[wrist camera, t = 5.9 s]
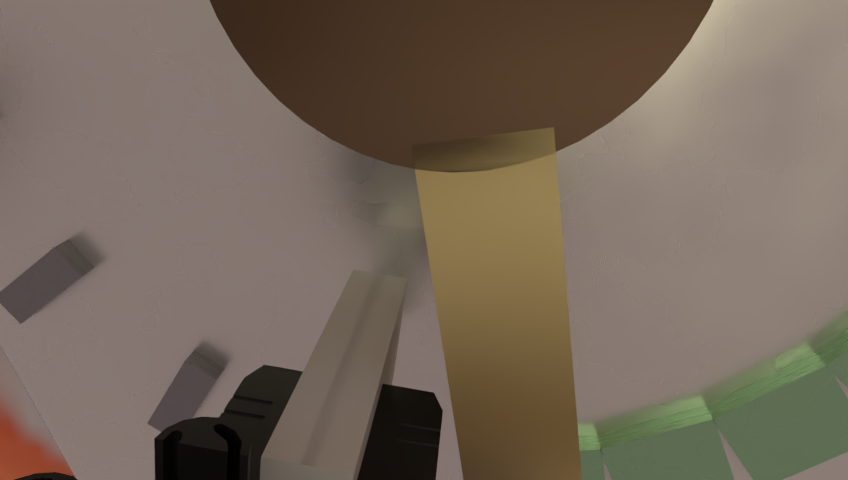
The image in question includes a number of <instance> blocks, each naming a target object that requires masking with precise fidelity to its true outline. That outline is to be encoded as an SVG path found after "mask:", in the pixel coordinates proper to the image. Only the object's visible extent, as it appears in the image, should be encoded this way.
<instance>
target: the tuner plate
mask: <svg viewBox="0 0 848 480" xmlns="http://www.w3.org/2000/svg"><path fill="white" fill-rule="evenodd" d="M556 160H557V173H558V185H559V198H560V210H561V223H562V235H563V248H564V260H565V273H566V286H567V298H568V311H569V323H570V336H571V348H572V361H573V374H574V386H575V399H576V411H577V424H578V436H579V449H580V461H581V474H582V480H848V0H714V1H713V3H712V5H711V7H710V9H709V11H708V12H707V14H706V16H705V17H704V19H703V20H702V22H701V24H700V25H699V27H698V29H697V30H696V32H695V34H694V35H693V37H692V38H691V40H690V42H689V43H688V44H687V46H686V47H685V48H684V50H683V51H682V52H681V53H680V55H679V56H678V57H677V59H676V60H675V61H674V62H673V64H672V65H671V66H670V67H669V69H668V70H667V71H666V73H665V74H664V75H663V76H662V77H661V78H660V79H659V80H658V81H657V82H656V83H655V84H654V85H653V86H652V87H651V88H650V89H649V90H648V91H647V92H646V93H645V94H644V95H643V96H642V97H641V98H640V99H639V100H638V101H637V102H635V103H634V104H633V105H631V106H630V107H629V108H628V109H626V110H625V111H624V112H623V113H621V114H620V115H619V116H618V117H616V118H615V119H614V120H613V121H611V122H610V123H608V124H607V125H605V126H604V127H602V128H600V129H599V130H597V131H595V132H594V133H592V134H591V135H589V136H587V137H586V138H584V139H582V140H581V141H579V142H577V143H574V144H572V145H570V146H568V147H566V148H564V149H561V150H559V151H557V152H556ZM353 269H356V270H362V271H368V272H374V273H380V274H385V275H391V276H397V277H403V278H408V281H407V288H406V295H405V302H404V309H403V316H402V323H401V329H400V336H399V343H398V350H397V357H396V364H395V370H394V377H393V381H392V385H394V386H399V387H405V388H411V389H417V390H422V391H428V392H434V394H435V396H436V398H437V400H438V402H439V404H440V406H441V408H442V410H443V414H442V424H441V432H440V433H441V434H440V443H439V453H438V463H437V472H436V480H463V473H462V467H461V461H460V454H459V448H458V442H457V435H456V429H455V423H454V416H453V410H452V403H451V397H450V391H449V384H448V378H447V372H446V365H445V359H444V352H443V346H442V340H441V333H440V327H439V321H438V314H437V308H436V302H435V295H434V289H433V282H432V276H431V270H430V263H429V257H428V251H427V244H426V238H425V232H424V225H423V219H422V212H421V206H420V200H419V193H418V187H417V181H416V174H415V169H413V168H408V167H403V166H398V165H393V164H389V163H386V162H383V161H380V160H377V159H374V158H372V157H369V156H366V155H363V154H360V153H358V152H356V151H354V150H352V149H350V148H348V147H346V146H344V145H341V144H339V143H337V142H335V141H333V140H331V139H330V138H328V137H327V136H325V135H324V134H322V133H320V132H319V131H317V130H316V129H314V128H313V127H311V126H310V125H308V124H307V123H305V122H304V121H302V120H301V119H300V118H299V117H298V116H297V115H295V114H294V113H293V112H292V111H291V110H289V109H288V108H287V107H286V106H285V105H283V104H282V103H281V102H280V101H279V100H278V99H277V98H276V97H275V96H274V95H273V94H272V93H271V92H270V91H269V90H268V89H267V88H266V87H265V85H264V84H263V83H262V82H261V81H260V80H259V79H258V78H257V77H256V76H255V75H254V73H253V72H252V71H251V69H250V68H249V66H248V65H247V64H246V62H245V61H244V60H243V58H242V57H241V56H240V54H239V53H238V52H237V50H236V49H235V48H234V46H233V44H232V42H231V41H230V39H229V37H228V35H227V34H226V32H225V30H224V28H223V27H222V25H221V23H220V22H219V20H218V18H217V16H216V14H215V12H214V9H213V7H212V5H211V3H210V0H0V346H1V347H2V349H3V351H4V353H5V354H6V356H7V358H8V360H9V362H10V363H11V365H12V367H13V369H14V370H15V372H16V374H17V376H18V377H19V379H20V381H21V383H22V384H23V386H24V388H25V390H26V391H27V393H28V395H29V397H30V398H31V400H32V402H33V404H34V405H35V407H36V409H37V411H38V412H39V414H40V416H41V418H42V419H43V421H44V423H45V425H46V426H47V428H48V430H49V432H50V433H51V435H52V437H53V439H54V440H55V442H56V444H57V446H58V448H59V449H60V451H61V453H62V455H63V456H64V458H65V460H66V462H67V463H68V465H69V467H70V469H71V470H72V472H73V474H74V476H75V477H76V479H77V480H155V448H154V438H155V437H157V436H158V435H159V434H160V433H161V432H162V431H163V430H164V429H166V428H167V427H169V426H171V425H173V424H176V423H178V422H180V421H182V420H186V419H192V418H197V417H219V416H220V415H221V413H223V412H224V409H225V407H226V405H227V404H228V402H229V401H230V399H231V398H233V395H234V393H235V391H236V390H237V388H238V387H239V385H240V384H241V382H242V380H243V379H244V377H246V376H248V375H249V374H251V373H252V372H254V371H255V370H257V369H258V368H260V367H261V366H263V365H269V366H275V367H281V368H287V369H292V370H298V371H304V369H305V367H306V365H307V363H308V361H309V358H310V356H311V354H312V352H313V350H314V348H315V346H316V344H317V342H318V340H319V338H320V336H321V334H322V332H323V330H324V328H325V326H326V324H327V322H328V320H329V318H330V316H331V314H332V312H333V310H334V308H335V306H336V304H337V302H338V300H339V298H340V296H341V293H342V291H343V289H344V287H345V285H346V283H347V281H348V279H349V277H350V275H351V273H352V271H353Z"/></svg>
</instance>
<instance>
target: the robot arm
mask: <svg viewBox="0 0 848 480" xmlns="http://www.w3.org/2000/svg"><path fill="white" fill-rule="evenodd" d="M407 281H408V278H403V277H397V276H391V275H385V274H380V273H374V272H368V271H362V270H356V269H353V271H352V273H351V275H350V277H349V279H348V281H347V283H346V285H345V287H344V289H343V291H342V293H341V296H340V298H339V300H338V302H337V304H336V306H335V308H334V310H333V312H332V314H331V316H330V318H329V320H328V322H327V324H326V326H325V328H324V330H323V332H322V334H321V336H320V338H319V340H318V342H317V344H316V346H315V348H314V350H313V352H312V354H311V356H310V358H309V361H308V363H307V365H306V367H305V369H304V371H298V370H292V369H287V368H281V367H275V366H269V365H263V366H261V367H260V368H258V369H257V370H255V371H254V372H252V373H251V374H249V375H248V376H246V377H244V379H243V380H242V382H241V384H240V385H239V387H238V388H237V390H236V391H235V393H234V395H233V398H231V399H230V401H229V402H228V404H227V405H226V407H225V409H224V412H223V413H221V415H220V416H219V417H197V418H192V419H186V420H182V421H180V422H178V423H176V424H173V425H171V426H169V427H167V428H166V429H164V430H163V431H162V432H161V433H160V434H159V435H158V436H157V437H155V438H154V448H155V480H436V472H437V463H438V453H439V443H440V434H441V433H440V432H441V424H442V414H443V410H442V408H441V406H440V404H439V402H438V400H437V398H436V396H435V394H434V392H428V391H422V390H417V389H411V388H405V387H399V386H394V385H392V381H393V377H394V370H395V364H396V357H397V350H398V343H399V336H400V329H401V323H402V316H403V309H404V302H405V295H406V288H407ZM15 480H77V479H76V478H75V477H73V476H70V475H65V474H61V473H56V472H54V473H37V474H32V475H29V476H25V477H22V478H18V479H15Z"/></svg>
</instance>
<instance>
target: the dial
mask: <svg viewBox="0 0 848 480" xmlns="http://www.w3.org/2000/svg"><path fill="white" fill-rule="evenodd" d="M713 1H714V0H210V3H211V5H212V7H213V9H214V12H215V14H216V16H217V18H218V20H219V22H220V23H221V25H222V27H223V28H224V30H225V32H226V34H227V35H228V37H229V39H230V41H231V42H232V44H233V46H234V48H235V49H236V50H237V52H238V53H239V54H240V56H241V57H242V58H243V60H244V61H245V62H246V64H247V65H248V66H249V68H250V69H251V71H252V72H253V73H254V75H255V76H256V77H257V78H258V79H259V80H260V81H261V82H262V83H263V84H264V85H265V87H266V88H267V89H268V90H269V91H270V92H271V93H272V94H273V95H274V96H275V97H276V98H277V99H278V100H279V101H280V102H281V103H282V104H283V105H285V106H286V107H287V108H288V109H289V110H291V111H292V112H293V113H294V114H295V115H297V116H298V117H299V118H300V119H301V120H302V121H304V122H305V123H307V124H308V125H310V126H311V127H313V128H314V129H316V130H317V131H319V132H320V133H322V134H324V135H325V136H327V137H328V138H330V139H331V140H333V141H335V142H337V143H339V144H341V145H344V146H346V147H348V148H350V149H352V150H354V151H356V152H358V153H360V154H363V155H366V156H369V157H372V158H374V159H377V160H380V161H383V162H386V163H389V164H393V165H398V166H403V167H408V168H413V169H415V174H416V181H417V187H418V193H419V200H420V206H421V212H422V219H423V225H424V232H425V238H426V244H427V251H428V257H429V263H430V270H431V276H432V282H433V289H434V295H435V302H436V308H437V314H438V321H439V327H440V333H441V340H442V346H443V352H444V359H445V365H446V372H447V378H448V384H449V391H450V397H451V403H452V410H453V416H454V423H455V429H456V435H457V442H458V448H459V454H460V461H461V467H462V473H463V480H582V474H581V461H580V449H579V436H578V424H577V411H576V399H575V386H574V374H573V361H572V348H571V336H570V323H569V311H568V298H567V286H566V273H565V260H564V248H563V235H562V223H561V210H560V198H559V185H558V173H557V160H556V152H557V151H559V150H561V149H564V148H566V147H568V146H570V145H572V144H574V143H577V142H579V141H581V140H582V139H584V138H586V137H587V136H589V135H591V134H592V133H594V132H595V131H597V130H599V129H600V128H602V127H604V126H605V125H607V124H608V123H610V122H611V121H613V120H614V119H615V118H616V117H618V116H619V115H620V114H621V113H623V112H624V111H625V110H626V109H628V108H629V107H630V106H631V105H633V104H634V103H635V102H637V101H638V100H639V99H640V98H641V97H642V96H643V95H644V94H645V93H646V92H647V91H648V90H649V89H650V88H651V87H652V86H653V85H654V84H655V83H656V82H657V81H658V80H659V79H660V78H661V77H662V76H663V75H664V74H665V73H666V71H667V70H668V69H669V67H670V66H671V65H672V64H673V62H674V61H675V60H676V59H677V57H678V56H679V55H680V53H681V52H682V51H683V50H684V48H685V47H686V46H687V44H688V43H689V42H690V40H691V38H692V37H693V35H694V34H695V32H696V30H697V29H698V27H699V25H700V24H701V22H702V20H703V19H704V17H705V16H706V14H707V12H708V11H709V9H710V7H711V5H712V3H713Z"/></svg>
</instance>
